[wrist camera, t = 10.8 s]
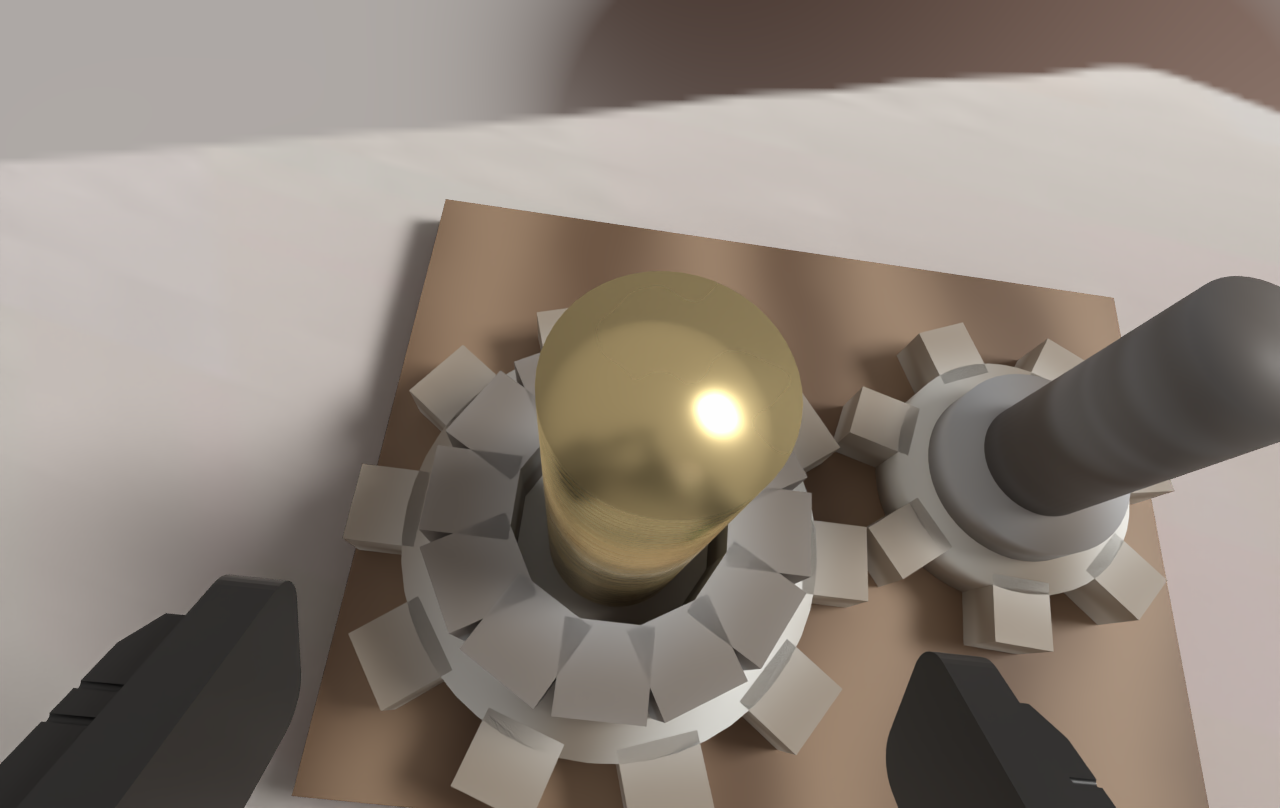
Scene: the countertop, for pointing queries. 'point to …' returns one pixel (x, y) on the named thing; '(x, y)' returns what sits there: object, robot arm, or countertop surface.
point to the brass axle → (657, 427)
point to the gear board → (848, 648)
